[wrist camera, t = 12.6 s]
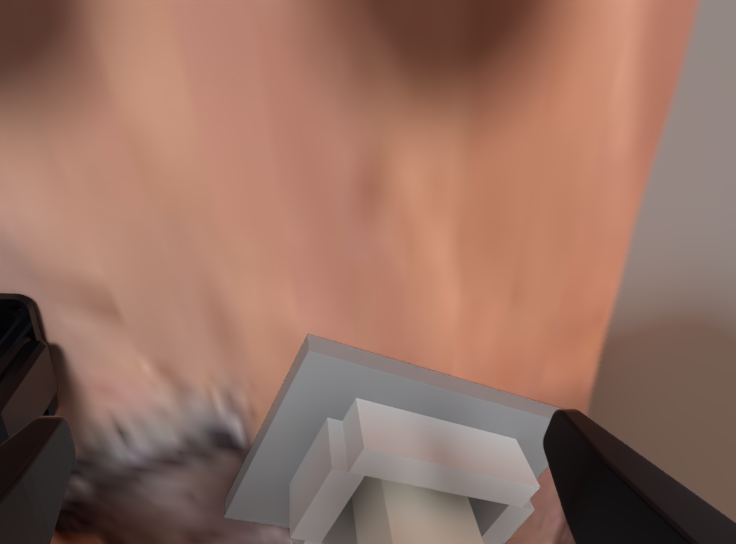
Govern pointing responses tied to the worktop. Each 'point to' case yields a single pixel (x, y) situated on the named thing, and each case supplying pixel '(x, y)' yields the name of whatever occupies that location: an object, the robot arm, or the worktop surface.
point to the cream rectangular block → (411, 515)
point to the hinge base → (376, 382)
